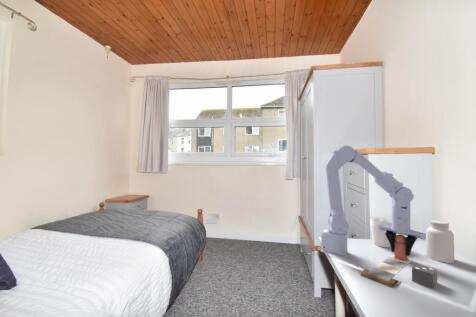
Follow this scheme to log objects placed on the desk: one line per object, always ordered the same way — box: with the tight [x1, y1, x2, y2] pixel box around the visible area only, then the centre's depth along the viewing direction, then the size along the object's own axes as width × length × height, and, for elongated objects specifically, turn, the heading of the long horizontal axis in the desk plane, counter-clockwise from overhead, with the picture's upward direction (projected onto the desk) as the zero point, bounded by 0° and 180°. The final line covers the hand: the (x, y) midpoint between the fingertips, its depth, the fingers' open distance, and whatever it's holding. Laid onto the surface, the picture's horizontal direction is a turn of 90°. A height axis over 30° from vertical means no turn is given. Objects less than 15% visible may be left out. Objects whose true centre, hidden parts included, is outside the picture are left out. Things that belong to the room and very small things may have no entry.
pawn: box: [393, 234, 408, 261], centre depth 84 cm, size 4×4×9 cm
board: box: [360, 253, 414, 288], centre depth 78 cm, size 9×28×1 cm, turn 128°
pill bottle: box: [425, 219, 455, 264], centre depth 85 cm, size 8×8×15 cm
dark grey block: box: [411, 263, 438, 289], centre depth 68 cm, size 5×5×5 cm
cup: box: [369, 217, 392, 248], centre depth 99 cm, size 9×9×12 cm
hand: (400, 253), depth 84 cm, fingers closed on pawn, 4 cm apart
